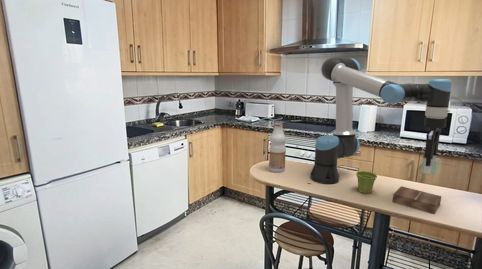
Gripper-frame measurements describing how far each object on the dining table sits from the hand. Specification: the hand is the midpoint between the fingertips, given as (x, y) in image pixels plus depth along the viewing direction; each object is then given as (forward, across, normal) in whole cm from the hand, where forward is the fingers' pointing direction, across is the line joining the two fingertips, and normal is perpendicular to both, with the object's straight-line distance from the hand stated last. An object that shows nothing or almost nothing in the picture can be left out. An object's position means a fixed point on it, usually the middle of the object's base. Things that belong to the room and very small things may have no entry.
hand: (428, 171), depth 120 cm
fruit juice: (+14, -9, +74) cm, 76 cm away
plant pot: (+16, -2, +25) cm, 29 cm away
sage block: (0, 0, 0) cm, 0 cm away
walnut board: (+16, 0, +3) cm, 16 cm away
